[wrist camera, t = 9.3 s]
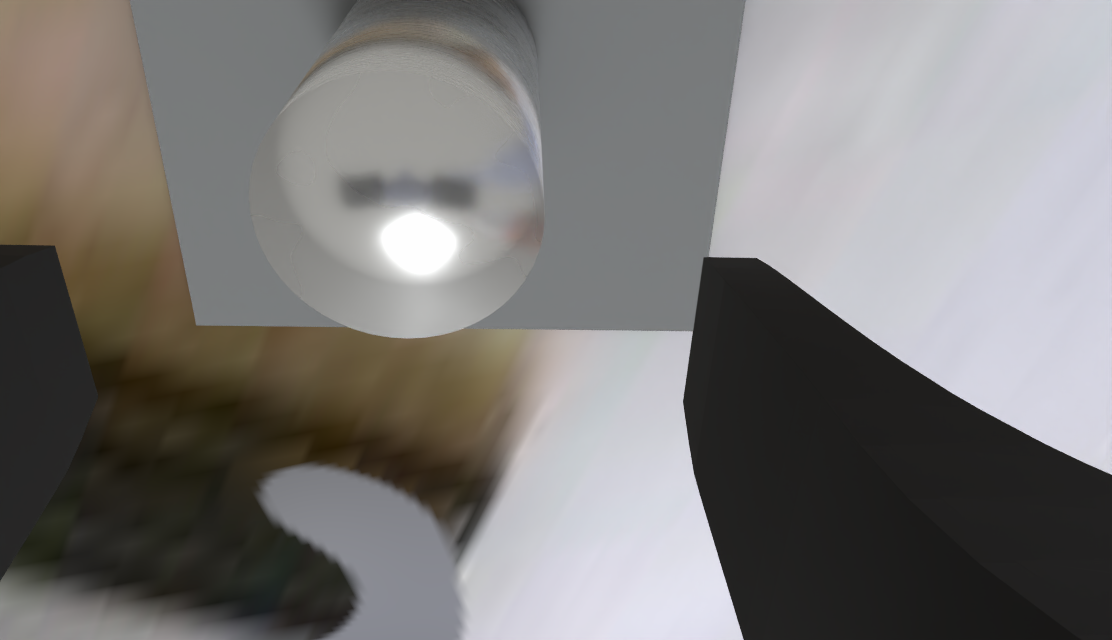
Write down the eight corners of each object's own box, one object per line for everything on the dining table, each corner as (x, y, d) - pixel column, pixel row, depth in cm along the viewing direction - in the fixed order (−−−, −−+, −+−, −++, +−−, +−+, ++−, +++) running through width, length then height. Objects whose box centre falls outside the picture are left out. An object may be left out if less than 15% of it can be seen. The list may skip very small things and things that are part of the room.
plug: (551, -21, 17) (565, 94, 11) (523, 170, 19) (524, 351, 13) (342, -53, 17) (244, 49, 11) (337, 146, 19) (253, 322, 13)
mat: (774, -252, 16) (782, -253, 15) (694, 320, 22) (697, 331, 22) (83, -285, 15) (70, -286, 15) (202, 314, 22) (196, 325, 21)
